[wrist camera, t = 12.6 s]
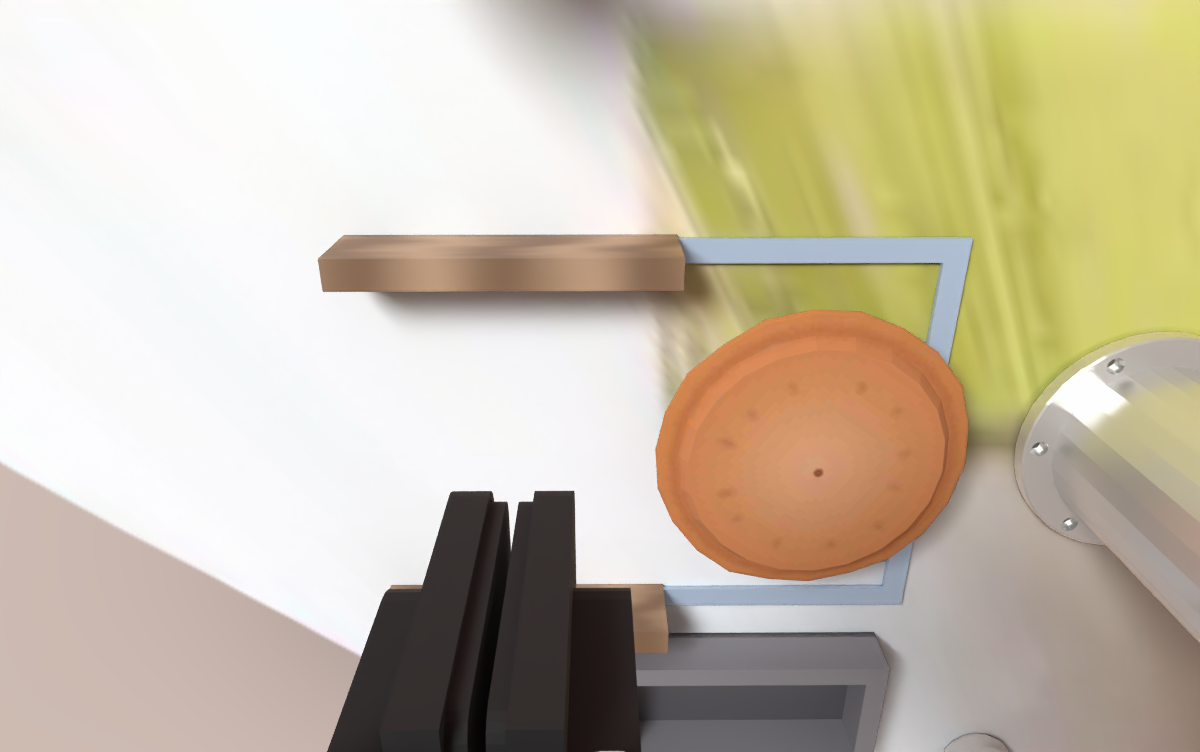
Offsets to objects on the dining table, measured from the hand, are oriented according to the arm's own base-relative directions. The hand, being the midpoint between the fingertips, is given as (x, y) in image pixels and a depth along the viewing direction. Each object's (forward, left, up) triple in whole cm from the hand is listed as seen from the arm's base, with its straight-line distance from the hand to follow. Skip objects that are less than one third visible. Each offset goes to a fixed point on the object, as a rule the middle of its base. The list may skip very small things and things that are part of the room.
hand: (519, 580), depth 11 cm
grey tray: (-10, +31, -29) cm, 44 cm away
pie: (-12, +13, -30) cm, 34 cm away
